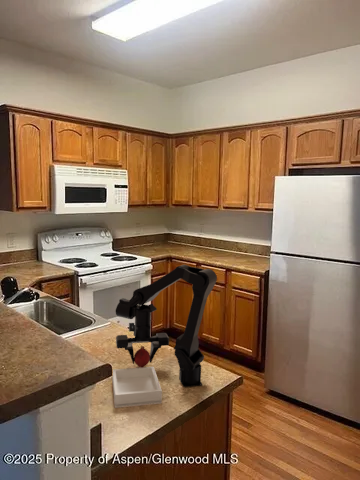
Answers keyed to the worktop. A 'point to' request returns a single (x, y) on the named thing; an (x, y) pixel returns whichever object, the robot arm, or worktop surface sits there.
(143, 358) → the onion
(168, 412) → the worktop surface
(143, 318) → the robot arm
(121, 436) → the worktop surface
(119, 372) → the bin
